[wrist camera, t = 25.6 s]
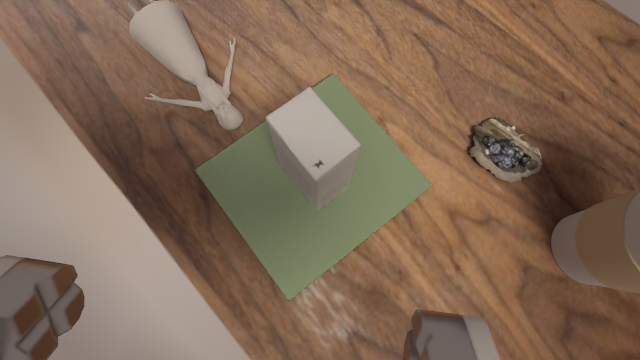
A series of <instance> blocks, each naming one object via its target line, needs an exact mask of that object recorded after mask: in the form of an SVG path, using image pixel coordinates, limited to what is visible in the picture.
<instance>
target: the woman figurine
mask: <svg viewBox="0 0 640 360" xmlns="http://www.w3.org/2000/svg"><path fill="white" fill-rule="evenodd" d="M148 1H149V2H150V3H151V4H149V5H147V6H145V7H144V8H142V9H141V10H140V11H138V12H137V10H136V9H135V8H134V6H133V5H132V3H131V2H130V3H128V4H127V7H128V9H129V10H130V11H131V13H132V14H133V15H134V17H133V19H132V20H131V22H130V23H129V29H130V37H131V38H133V39H134V40H135V41H136V42H137V43H138V44H140V45H141V46H142V47H143V48H144V49H145V50H146V51H147V52H148V53H150V54H151V55H152V56H153V57H154V58H155V59H156V60H157V61H158V62H159V63H161V64H162V65H163V66H164V67H166V68H167V69H168V70H169V71H171V72H172V73H173V74H174V75H176V76H177V77H178V78H179V79H181V80H183V81H184V82H186V83H190V84H193V85H196V87H197V89H198V92H199V95H200V98H201V101H190V100H184V99H175V100H173V99H163V98H159V97H158V96H156V95H154V94H151V93H149V94H150V95H152V96H153V97H152V98H149V97H144V98H145V99H147V100H151V101H157V102H164V103H170V104H176V105H180V106H191V107H197V108H201V109H203V111H204V112H205V111H209V110H213V112H214V114H215V115H216V116H217V119H218V122H219V124H220V125H221V127H223V128H224V129H226V130H234V129H237V128H239V126H240V125H241V123H242V122H243V116H242V114H241V112H240V111H239V110H238V109H237V108H235V107H233V106H232V104H231V102H230V101H229V100H228V97H229V96H230V94H231V92H230V91H229V81H230V75H231V71H232V64H233V58H234V53H235V45H236V39H235V38H234V42H233V44H232V45H231V41H229V42H230V50H231V53H230V58H229V62H228V65H227V67H226V70H225V74H224V82H223V86H220V85H219V84H217V83H216V82H214V81H213V80H212V79H211V78H209V77H208V75H207V66H206V62H205V60H204V58H203V56H202V54H201V52H200V50H199V47H198V45H197V43H196V41H195V39H194V37H193V35H192V33H191V31H190V29H189V27H188V25H187V23H186V21H185V18H184V16H183V14H182V12H181V10H180V8H179V6H177V5H176V4H174V3H172V2H170V1H168V0H164V1H155V0H148Z"/></svg>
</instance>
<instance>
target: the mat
mask: <svg viewBox="0 0 640 360" xmlns="http://www.w3.org/2000/svg"><path fill="white" fill-rule="evenodd" d="M312 89H313V91H314V92H315V93H316V94H317V95H318V96H319V97H320V99H321V100H322V101H323V102H324V103H325V104H326V105H327V107H328V108H329V109H330V110H331V111H332V112H333V113H334V114H335V115H336V116H337V118H338V119H339V120H340V121H341V122H342V123H343V124H344V125H345V127H346V128H347V129H348V130H349V131H350V132H351V133H352V135H353V136H354V137H355V138H356V139H357V140H358V142H359V143H360V144H361V148H360V151H359V154H358V157H357V161H356V164H355V167H354V170H353V174H352V177H351V180H350V183H349V187H348V189H346V190H345V191H344V192H342V193H341V194H340V195H338V196H337V197H336V198H335V199H333V200H332V201H331V202H330V203H328V204H327V205H326V206H324V207H323V208H322V209H320V210H319V211H318V212H315V211H314V210H313V208H312V207H311V206H310V204H309V203H308V202H307V201H306V199H305V198H304V197H303V196H302V194H301V193H300V192H299V191H298V189H297V188H296V187H295V186H294V184H293V183H292V182H291V180H290V179H289V178H288V177H287V175H286V174H285V173H284V172H283V170H282V169H281V166H280V163H279V160H278V157H277V153H276V150H275V147H274V144H273V141H272V138H271V134H270V131H269V128H268V124H267V121H264V122H263V123H261V124H260V125H258V126H257V127H255V128H254V129H253V130H251V131H250V132H248V133H247V134H245V135H244V136H243V137H241V138H240V139H238V140H237V141H235V142H234V143H232V144H231V145H230V146H228V147H227V148H225V149H224V150H222V151H221V152H219V153H218V154H217V155H215V156H214V157H212V158H211V159H209V160H208V161H207V162H205V163H204V164H202V165H201V166H199V167H198V168H196V169H195V172H196V173H197V174H198V176H199V177H200V179H201V180H202V181H203V183H204V184H205V186H206V187H207V188H208V190H209V191H210V193H211V194H212V195H213V197H214V198H215V199H216V201H217V202H218V204H219V205H220V206H221V208H222V209H223V211H224V212H225V213H226V215H227V216H228V218H229V219H230V220H231V222H232V223H233V225H234V226H235V227H236V229H237V230H238V232H239V233H240V234H241V236H242V237H243V238H244V240H245V241H246V243H247V244H248V245H249V247H250V248H251V250H252V251H253V252H254V254H255V255H256V257H257V258H258V259H259V261H260V262H261V264H262V265H263V266H264V268H265V269H266V270H267V272H268V273H269V275H270V276H271V277H272V279H273V280H274V282H275V283H276V284H277V286H278V287H279V289H280V290H281V291H282V293H283V294H284V296H285V297H286V298H287V300H288V301H290V300H291V299H292V298H293V297H294V296H296V295H297V294H298V293H299V292H301V291H302V290H303V289H304V288H306V287H307V286H308V285H309V284H311V283H312V282H313V281H314V280H316V279H317V278H318V277H319V276H321V275H322V274H323V273H324V272H326V271H327V270H328V269H329V268H331V267H332V266H333V265H334V264H336V263H337V262H338V261H339V260H341V259H342V258H343V257H344V256H346V255H347V254H348V253H349V252H351V251H352V250H353V249H354V248H356V247H357V246H358V245H359V244H361V243H362V242H363V241H364V240H365V239H367V238H368V237H369V236H370V235H372V234H373V233H374V232H375V231H377V230H378V229H379V228H380V227H382V226H383V225H384V224H385V223H387V222H388V221H389V220H390V219H392V218H393V217H394V216H395V215H397V214H398V213H399V212H400V211H402V210H403V209H404V208H405V207H407V206H408V205H409V204H410V203H412V202H413V201H414V200H415V199H417V198H418V197H419V196H420V195H422V194H423V193H424V192H425V191H427V190H428V189H429V188H430V187H432V185H431V183H430V182H429V181H428V180H427V179H426V178H425V177H424V175H423V174H422V173H421V172H420V171H419V170H418V169H417V167H416V166H415V165H414V164H413V163H412V162H411V161H410V159H409V158H408V157H407V156H406V155H405V154H404V153H403V152H402V150H401V149H400V148H399V147H398V146H397V145H396V144H395V142H394V141H393V140H392V139H391V138H390V137H389V136H388V134H387V133H386V132H385V131H384V130H383V129H382V128H381V126H380V125H379V124H378V123H377V122H376V121H375V120H374V118H373V117H372V116H371V115H370V114H369V113H368V112H367V111H366V109H365V108H364V107H363V106H362V105H361V104H360V103H359V101H358V100H357V99H356V98H355V97H354V96H353V95H352V93H351V92H350V91H349V90H348V89H347V88H346V87H345V85H344V84H343V83H342V82H341V81H340V80H339V79H338V78H337V76H336V75H335V74H334V73H333V74H332V75H330V76H329V77H327V78H326V79H325V80H323V81H322V82H320V83H319V84H317V85H316V86H314V87H313V88H312Z"/></svg>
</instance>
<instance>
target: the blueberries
mask: <svg viewBox="0 0 640 360" xmlns="http://www.w3.org/2000/svg"><path fill="white" fill-rule="evenodd" d="M482 125H483V126H480V125H478V126H475V129H474V130H475V133H476V136H472V137H474V138H473V140H474V141H475V142H474V143H475V146H474V147H472V148H470V149H471V150H470V151H469V152H470V153H472V155H470V156H471V157H475V158H476V161H477V162H478V163H479V164H481V166H483V167H485V169H490V171H492V172H491V174H495V177H497V178H498V179H500V180H505V181H508V182H509V184H510V183H511V184H512V183H514V182H515V181H520V180H521V179H522V177H526V178H528V175H529V176H531V175H532V174H537V173H538V172H539V170H540V169H541V167H542V164H543V163H542V162H541V160H542V156H541V154H540V150H539V149H538V148H534V147H535V146H531V144H530V143H529V141H522V140H521V139H519V137H520V136H521V134H520V135H518V134H517V133H516V132H515V131H513V130H514V129H515V128H516V127H515V125H514V126H512V127H511V128H510V126H509V124H507V123H505V121H504V120H502V119H500V118H499V117H498V118H497V119H496V118H491V119H489V120H487V121H485V122H484V123H482ZM522 135H524V134H522ZM496 168H497V169H496ZM522 180H523V179H522ZM520 182H521V181H520Z"/></svg>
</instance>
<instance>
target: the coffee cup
mask: <svg viewBox="0 0 640 360" xmlns="http://www.w3.org/2000/svg"><path fill="white" fill-rule="evenodd" d="M551 249H552V253H553V256H554V259H555V261H556V263H557V264H558V266H559V267H560V269H561V270H562V271H563V272H564V273H565V274H566V275H567V276H569V277H570V278H571V279H573V280H575V281H577V282H579V283H582V284H587V285H595V286H603V287H610V288H612V289H615V290H619V291H626V292H633V293H640V188H639V189H636V190H633V191H630V192H628V193H625V194H622V195H620V196H617V197H614V198H612V199H609V200H606V201H603V202H601V203H598V204H595V205H593V206H592V207H590V208H589V209H586V210H584V211H581V212H578V213H575V214H572V215H570V216H567V217H565V218H563V219H562V220H561V221H560V222H559V223H558V224H557V225H556V227H555V228H554V230H553V233H552V237H551Z"/></svg>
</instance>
